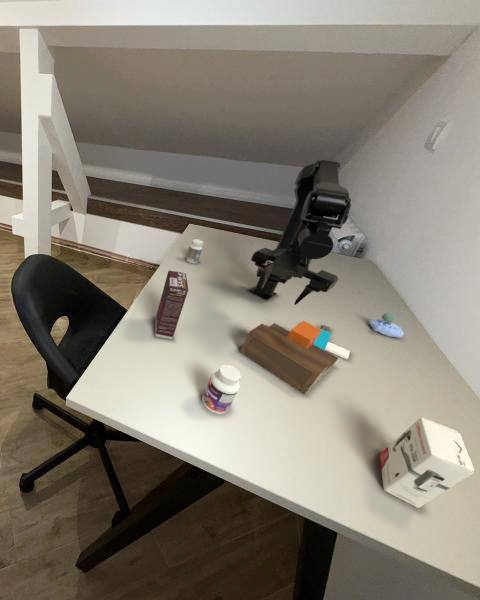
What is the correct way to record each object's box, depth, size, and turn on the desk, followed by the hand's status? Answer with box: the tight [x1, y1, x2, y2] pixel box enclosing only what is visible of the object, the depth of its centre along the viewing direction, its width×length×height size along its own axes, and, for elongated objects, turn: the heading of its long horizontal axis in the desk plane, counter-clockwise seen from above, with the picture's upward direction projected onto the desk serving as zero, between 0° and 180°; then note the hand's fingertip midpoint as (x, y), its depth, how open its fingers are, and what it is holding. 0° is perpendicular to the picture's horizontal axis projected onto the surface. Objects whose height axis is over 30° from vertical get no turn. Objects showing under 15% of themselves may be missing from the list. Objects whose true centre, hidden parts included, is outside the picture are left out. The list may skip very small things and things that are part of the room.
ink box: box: [379, 416, 475, 509], centre depth 52 cm, size 9×5×12 cm, turn 145°
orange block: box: [287, 320, 322, 349], centre depth 78 cm, size 7×4×5 cm, turn 126°
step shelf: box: [239, 323, 339, 395], centre depth 77 cm, size 16×16×7 cm
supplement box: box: [154, 270, 189, 340], centre depth 81 cm, size 9×5×16 cm, turn 168°
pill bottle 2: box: [201, 364, 242, 415], centre depth 63 cm, size 5×5×10 cm
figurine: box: [369, 312, 405, 339], centre depth 91 cm, size 8×7×7 cm
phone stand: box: [314, 325, 351, 360], centre depth 84 cm, size 20×12×2 cm, turn 136°
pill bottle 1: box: [185, 238, 204, 264], centre depth 121 cm, size 5×5×8 cm
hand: (277, 295), depth 84 cm, fingers open, 9 cm apart
